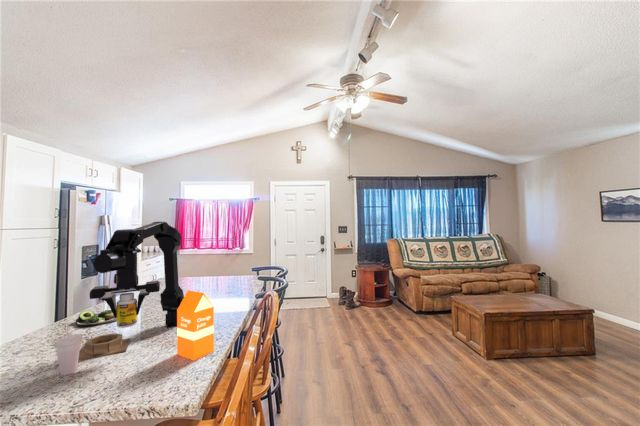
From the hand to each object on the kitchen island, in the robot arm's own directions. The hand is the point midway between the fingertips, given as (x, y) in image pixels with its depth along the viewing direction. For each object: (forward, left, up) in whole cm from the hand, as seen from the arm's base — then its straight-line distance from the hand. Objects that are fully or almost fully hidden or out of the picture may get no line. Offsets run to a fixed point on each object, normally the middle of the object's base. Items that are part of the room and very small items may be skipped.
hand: (127, 315), depth 96 cm
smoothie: (+14, +4, -13) cm, 19 cm away
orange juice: (-20, +8, -13) cm, 25 cm away
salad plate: (+17, -49, -13) cm, 54 cm away
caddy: (+8, -10, -13) cm, 18 cm away
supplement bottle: (0, 0, -3) cm, 3 cm away
